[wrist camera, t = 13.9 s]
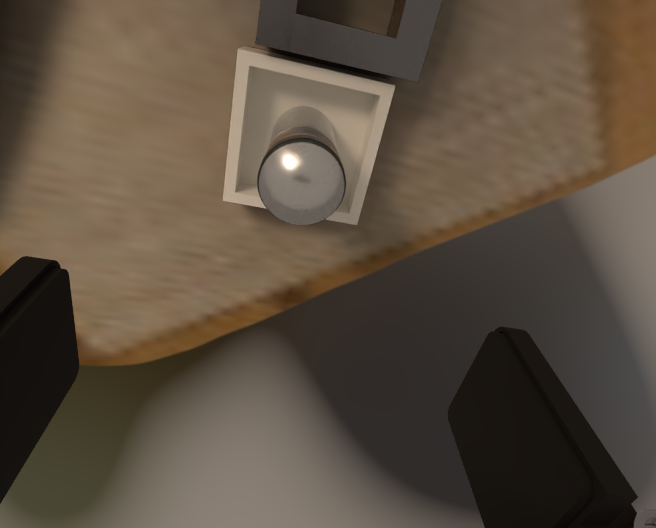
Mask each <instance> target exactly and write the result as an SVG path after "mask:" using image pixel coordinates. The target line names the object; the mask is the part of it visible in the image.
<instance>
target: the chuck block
mask: <svg viewBox="0 0 656 528" xmlns="http://www.w3.org/2000/svg"><path fill="white" fill-rule="evenodd" d="M441 3H442V0H395V4H394V8H393V12H392V16H391V20H390V24H389V28H388V32H387V36H385V35H381V34H377V33H373V32H369V31H365V30H361V29H357V28H353V27H349V26H345V25H341V24H337V23H333V22H329V21H325V20H321V19H317V18H313V17H309V16H305V15H301V14H297V12H298V6H299V0H261V4H260V12H259V21H258V29H257V38H256V44H258V45H263V46H267V47H271V48H275V49H280V50H284V51H288V52H292V53H296V54H301V55H305V56H309V57H313V58H318V59H322V60H326V61H330V62H335V63H339V64H343V65H347V66H351V67H356V68H360V69H364V70H368V71H373V72H377V73H381V74H385V75H389V76H394V77H398V78H402V79H406V80H411V81H415V82H418V80H419V77H420V73H421V70H422V67H423V63H424V60H425V57H426V53H427V50H428V47H429V43H430V40H431V37H432V33H433V30H434V27H435V23H436V20H437V16H438V13H439V10H440V6H441Z"/></svg>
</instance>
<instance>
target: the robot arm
mask: <svg viewBox="0 0 656 528" xmlns="http://www.w3.org/2000/svg"><path fill="white" fill-rule="evenodd" d="M78 370H79V358H78V349H77V341H76V332H75V323H74V315H73V306H72V298H71V289H70V280H69V274H68V271H67V270H65V269H61V268H60V265H59V263H58V262H57V261H55V260H48V259H41V258H35V257H28V256H25V257H22V258H20V259H19V260H18V261H16V262H15V263H14V264H13V265H12V266H11V267H10V268H9V269H8V270H6V271H5V272H4V273H3V274H2V275H1V276H0V503H1V502H2V500H3V498H4V497H5V495H6V493H7V492H8V490H9V489H10V487H11V485H12V483H13V482H14V480H15V478H16V477H17V475H18V474H19V472H20V470H21V469H22V467H23V465H24V464H25V462H26V460H27V459H28V457H29V455H30V454H31V452H32V450H33V449H34V447H35V445H36V444H37V442H38V441H39V439H40V437H41V436H42V434H43V432H44V431H45V429H46V427H47V426H48V424H49V422H50V421H51V419H52V417H53V416H54V414H55V413H56V411H57V409H58V408H59V406H60V404H61V402H62V401H63V399H64V397H65V396H66V394H67V393H68V391H69V389H70V388H71V386H72V384H73V383H74V381H75V379H76V377H77V374H78ZM448 420H449V423H450V427H451V430H452V432H453V435H454V438H455V441H456V444H457V447H458V450H459V453H460V456H461V459H462V461H463V465H464V467H465V470H466V474H467V476H468V479H469V482H470V485H471V488H472V491H473V494H474V497H475V500H476V503H477V506H478V509H479V511H480V514H481V518H482V520H483V523H484V526H485V528H656V509H643V510H641V511H640V512H638V513H636V511H635V509H634V508H633V506H632V505H631V503H632V502H633V501H634V500H636V499H637V498H638V496H637V495H636V494H635V492H634V491H633V489H632V488H631V486H630V485H629V483H628V482H627V480H626V479H625V477H624V476H623V474H622V473H621V471H620V470H619V468H618V467H617V465H616V464H615V462H614V461H613V460H612V458H611V456H610V455H609V453H608V452H607V450H606V449H605V447H604V446H603V444H602V443H601V441H600V440H599V438H598V437H597V435H596V434H595V432H594V431H593V429H592V428H591V426H590V425H589V423H588V422H587V420H586V419H585V418H584V416H583V414H582V413H581V411H580V410H579V408H578V407H577V405H576V404H575V403H574V401H573V400H572V398H571V396H570V395H569V394H568V392H567V391H566V389H565V387H564V386H563V385H562V383H561V382H560V380H559V379H558V377H557V376H556V374H555V373H554V371H553V370H552V368H551V367H550V365H549V364H548V362H547V361H546V359H545V358H544V356H543V355H542V353H541V352H540V350H539V349H538V347H537V346H536V344H535V343H534V341H533V340H532V338H531V337H530V335H529V334H528V333H527V332H526V331H524V330H520V329H514V328H507V327H499V328H497V329H496V330H495V331H494V332H490V333H489V334H488V336H487V337H486V339H485V341H484V343H483V345H482V347H481V348H480V350H479V352H478V354H477V356H476V358H475V360H474V361H473V363H472V365H471V367H470V369H469V371H468V373H467V374H466V376H465V378H464V380H463V382H462V384H461V386H460V388H459V389H458V391H457V393H456V395H455V397H454V399H453V401H452V402H451V404H450V406H449V410H448Z"/></svg>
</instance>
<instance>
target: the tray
mask: <svg viewBox="0 0 656 528" xmlns="http://www.w3.org/2000/svg"><path fill="white" fill-rule="evenodd" d="M394 89H395V85H394V84H393V83H392V82H391V81H389V80H388V79H384V78H380V77H375V76H371V75H367V74H363V73H358V72H354V71H350V70H346V69H341V68H337V67H333V66H328V65H324V64H320V63H316V62H311V61H307V60H303V59H299V58H294V57H290V56H286V55H282V54H277V53H273V52H269V51H265V50H260V49H256V48H252V47H248V46H243V47H240V48H238V53H237V63H236V73H235V83H234V93H233V103H232V113H231V123H230V133H229V143H228V153H227V163H226V173H225V183H224V193H223V201H228V202H233V203H239V204H244V205H249V206H255V207H260V208H266V207H265V205H264V204H263V202H262V200H261V198H260V196H259V193H258V188H257V176H258V171H259V168H260V165H261V162H262V159H263V157H264V155H265V154H266V152H267V149H268V146H269V143H270V139H271V136H272V133H273V129H274V126H275V124H276V122H277V120H278V119H279V117H280V116H281V115H282V114H283V113H284V112H285V111H287V110H289V109H291V108H293V107H297V106H309V107H313V108H315V109H317V110H319V111H321V112H322V113H323V114H324V115H325V116H326V117H327V118H328V119H329V121H330V123H331V125H332V127H333V131H334V135H335V140H336V145H337V149H338V154H339V157H340V159H341V161H342V164H343V168H344V172H345V176H346V190H345V195H344V198H343V200H342V202H341V204H340V205H339V207H338V208H337V210H336V211H335V212H334V213H333V214H332V215H331V216H329V217H328V218H326V220H331V221H336V222H342V223H347V224H353V225H357V224H358V220H359V217H360V213H361V209H362V206H363V202H364V198H365V195H366V191H367V187H368V184H369V180H370V177H371V173H372V169H373V166H374V162H375V158H376V155H377V151H378V148H379V144H380V140H381V137H382V133H383V129H384V126H385V122H386V119H387V115H388V111H389V108H390V104H391V100H392V97H393V93H394ZM266 209H267V208H266Z"/></svg>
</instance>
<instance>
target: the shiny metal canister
mask: <svg viewBox="0 0 656 528" xmlns="http://www.w3.org/2000/svg"><path fill="white" fill-rule="evenodd" d="M257 188H258V193H259V196H260V198H261V200H262V202H263V204H264V205H265V207H266V208H267V209H268V211H269V212H270V213H272V214H273V215H274V216H275V217H277V218H278V219H280V220H282V221H284V222H287V223H290V224H294V225H311V224H315V223H318V222H320V221H323V220H324V219H326V218H328V217H329V216H331V215H332V214H333V213H334V212H335V211H336V210H337V208H338V207H339V205H340V204H341V202H342V200H343V198H344V195H345V190H346V176H345V172H344V168H343V164H342V161H341V159H340V157H339V154H338V149H337V145H336V140H335V135H334V131H333V127H332V125H331V123H330V121H329V119H328V118H327V117H326V116H325V115H324V114H323V113H322V112H321V111H319V110H317V109H315V108H313V107H309V106H297V107H293V108H291V109H289V110H287V111H285V112H284V113H283V114H282V115H281V116H280V117H279V119H278V120H277V122H276V124H275V126H274V129H273V133H272V136H271V139H270V143H269V146H268V149H267V152H266V154H265V155H264V157H263V159H262V162H261V165H260V168H259V171H258V176H257Z"/></svg>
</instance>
